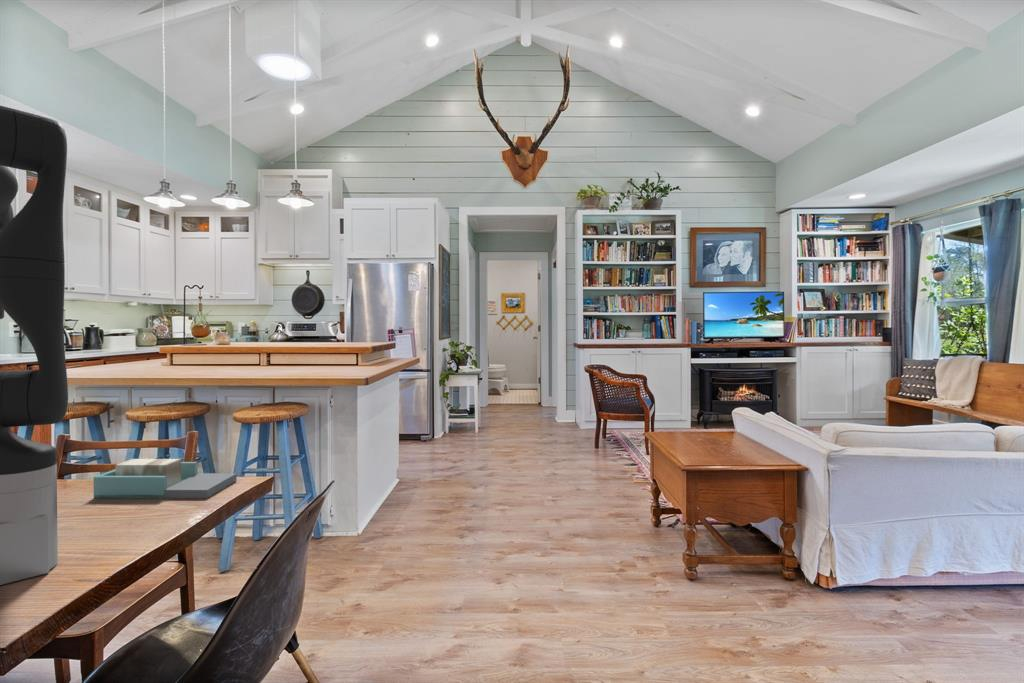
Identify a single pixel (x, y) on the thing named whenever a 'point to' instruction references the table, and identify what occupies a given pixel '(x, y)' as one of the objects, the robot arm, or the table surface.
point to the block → (152, 469)
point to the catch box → (137, 484)
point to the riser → (200, 485)
